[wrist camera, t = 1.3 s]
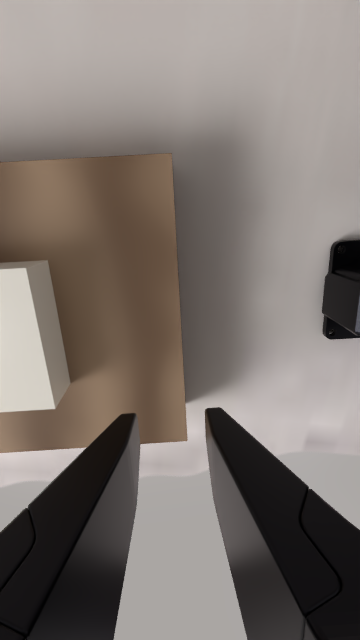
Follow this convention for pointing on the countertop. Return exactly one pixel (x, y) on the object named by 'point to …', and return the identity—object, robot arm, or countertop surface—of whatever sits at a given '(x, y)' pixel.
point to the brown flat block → (101, 293)
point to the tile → (30, 339)
